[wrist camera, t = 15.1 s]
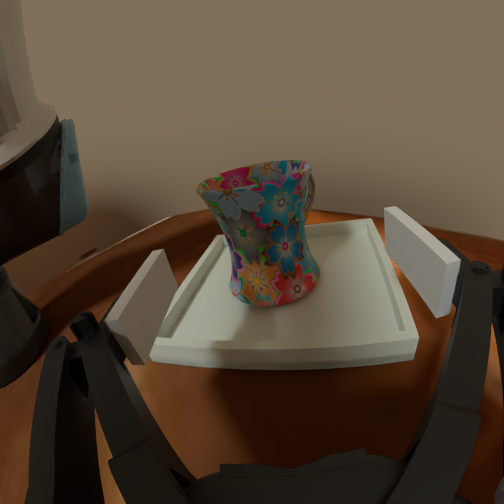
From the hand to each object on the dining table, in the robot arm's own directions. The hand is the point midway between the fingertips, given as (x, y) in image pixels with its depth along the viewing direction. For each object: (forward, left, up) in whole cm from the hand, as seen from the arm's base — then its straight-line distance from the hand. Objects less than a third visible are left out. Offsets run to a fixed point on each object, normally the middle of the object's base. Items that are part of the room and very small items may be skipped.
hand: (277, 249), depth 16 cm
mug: (-2, +9, -8) cm, 12 cm away
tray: (-2, +8, -8) cm, 12 cm away
